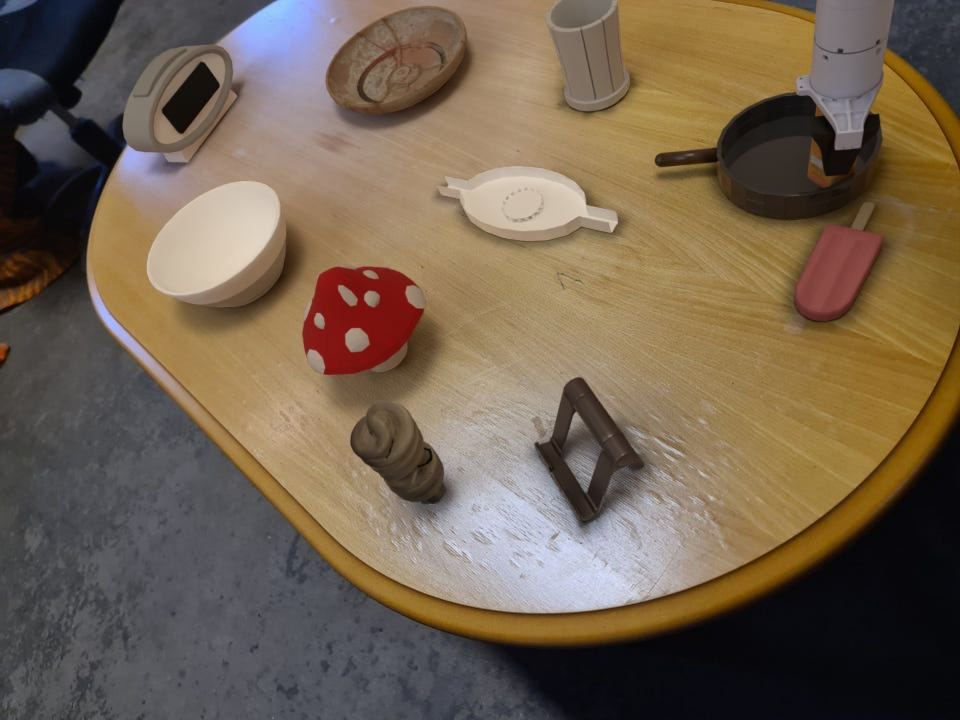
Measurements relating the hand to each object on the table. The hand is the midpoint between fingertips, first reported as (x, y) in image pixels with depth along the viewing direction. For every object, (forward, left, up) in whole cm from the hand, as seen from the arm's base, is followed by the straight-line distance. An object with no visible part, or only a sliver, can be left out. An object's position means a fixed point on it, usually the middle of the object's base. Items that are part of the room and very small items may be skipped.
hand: (835, 155), depth 70 cm
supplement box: (0, 0, -3) cm, 3 cm away
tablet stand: (+21, +33, -5) cm, 40 cm away
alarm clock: (+97, -26, -5) cm, 101 cm away
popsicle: (0, +10, -5) cm, 11 cm away
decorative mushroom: (+46, +21, -5) cm, 51 cm away
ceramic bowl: (+59, -31, -5) cm, 67 cm away
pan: (+3, -4, -5) cm, 7 cm away
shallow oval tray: (+34, -1, -5) cm, 34 cm away
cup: (+28, -22, -5) cm, 36 cm away
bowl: (+72, +8, -5) cm, 73 cm away
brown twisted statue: (+36, +37, -5) cm, 52 cm away
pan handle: (+14, -4, -3) cm, 15 cm away
